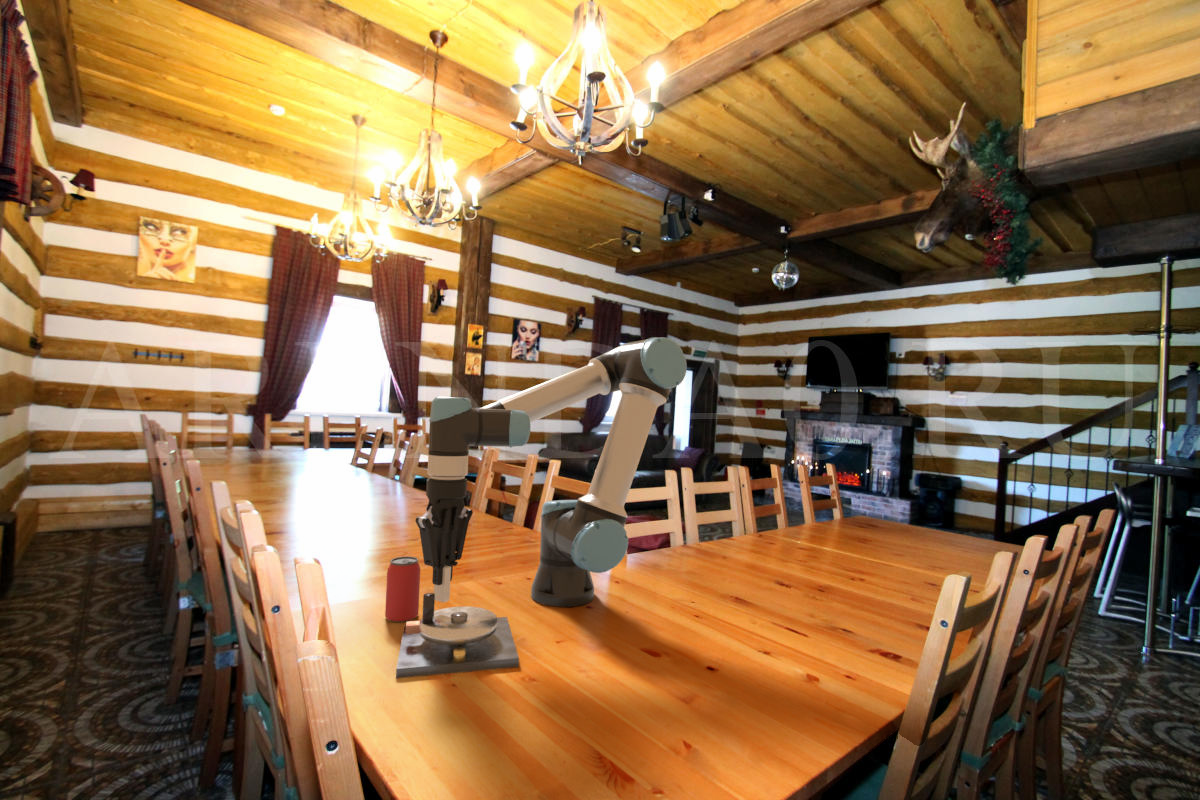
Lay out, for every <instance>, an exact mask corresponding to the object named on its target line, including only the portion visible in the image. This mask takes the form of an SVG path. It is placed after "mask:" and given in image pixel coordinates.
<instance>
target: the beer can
mask: <svg viewBox="0 0 1200 800" xmlns="http://www.w3.org/2000/svg"><path fill="white" fill-rule="evenodd" d="M389 561H390V564H389V566H388V568H387V572H386V592H385V611H384V615H385V618H386V620H387V621H389V622H392V623H405V621H406V622H409V620H410V621H413V620H414V619H416V618H417V617H418V616H419V610H420V609H419V608H420V607H419V605H420V587H421V586H420V583H421V567H420V563H419V559H418V557H415V556H399V557H395V558H392V559H391V560H389Z"/></svg>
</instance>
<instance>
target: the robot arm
mask: <svg viewBox="0 0 1200 800" xmlns="http://www.w3.org/2000/svg"><path fill="white" fill-rule="evenodd" d="M686 359H687V358H686V356H685V355H684V352H683V349H682V348H681V347H680V345H679V344H678V343H677V342H675V341H674V340H672V339H671V338H668V337H657V336H654V337H653V336H652V337H649V338H647V339H642V340H637V341H636V340H635V341H629V342H626V343H623V344H621V345H619V346H617V347H615V348H613V349H611V350H608V351H607V352H605V353H602V354H600V355H597V356H596V357H593V358H591V359H590V360H589V361H588V363H587V364H586V365H584V366H582V367H580V368H577V369H574V370H572V371H570V372H567V373H565V374H561V375H560V376H557V377H555V378H552V379H550V380H547V381H544V382H542V383H540V384H536V385H534V386H532V387H529V388H527V389H524V390H522V391H519V392H517V393H515V394H512V395H509V396H506V397H504V398H502V399H499V400H497V401H495V402H492V403H489V404H487V405H484V406H482V407H481V406H479V407H473V405H472V400H471V399H470V398H469V397H457V396H455V397H454V396H452V397H451V396H437V397H434V398H433V400H431V407H430V414H429V415H430V416H429V419H428V420H429V421H428V422H429V431H428V454H427V455H428V456H427V457H428V458H427V472H426V473H427V475H428V476H430V477H428V478H427V479H426V488H425V489H426V492H425V493H426V494H425V495H426V497H427V499H428V503H427V505H426V510H425V511H426V512H425V513H423V514H422V516H416V518H415V523H416V525H417V527H418V529H419V535H420V543H421V549H422V557H423V563H424V565H425V566H429V567H432V585H433V593H434V594H435V602H441V603H446V602H449V601H450V597H451V596H450V595H451V582H452V580H453V572H454V571H453V568H454V567H456V566H457V565H458V564H459V560H461V559H462V557H463V551H464V547H465V541H466V537H467V532H468V529H469V523H470V520H471V518H472V515H473V512H474V510H473V509H471V508H470V509H469V508H467V507H466V506H465V501H464V498H466V497H467V494H468V493H467V492H468V479H467V478H466V476H468V475H469V452H470V450H469V449H470V447H506V448H507V447H509V448H513V447H523V446H525V445H526V444H527V443H528V442H529V440H530V435H531V423H533V422H536V421H537V420H540V419H542V418H545V417H547V416H549V415H552V414H554V413H557V412H560V411H561V410H563V409H566V408H569V407H570V406H573V405H576V404H577V403H578V404H579V402H580V403H581V402H582V401H585V400H587V399H590V398H592V397H595V396H596V395H602V396H607V395H610V394H612V393H614V392H618V391H620V392H621V397H620V401H619V403H618V405H617V409H616V412H615V414H614V418H613V420H612V423H611V427H610V429H609V432H608V434H607V437H606V440H605V443H604V447H603V449H602V452H601V454H600V457H599V460H598V463H597V465H596V467H595V471H594V474H593V477H592V479H591V482H590V485H589V489H588V490H587V493H586V494H585V495H582V496H581V497H578V499H558V500H548V501H545V502H544V503H543V505H542V507H541V508H542V509H541V514H540V518H541V520H540V522H541V523H540V551H539V552H540V553H539V557H540V558H539V563H538V564H539V565H538V567H537V570H536V573H535V576H534V579H533V581H532V584H531V589H530V591H531V593H530V596H531V597H530V598H531V599H533V601H535V602H537V603H538V604H542V605H545V606H550V607H558V608H560V607H561V608H562V607H563V608H568V607H569V608H570V607H579V606H583V605H585V604H589V603H590V602H592V601H593V600H594V598H595V585H594V581H593V578H592V574H591V573H594V574H601V573H606V572H609V571H610V570H612V569H613V568H614V569H615V567H617V566H618V565H619V564H620V563H621V562H622V560H624V557H625V556H626V553H627V550H628V547H629V536H628V535H627V531H626V529H625V525H626V523H627V520H628V514H627V511H626V510H625V504H626V502H627V499H628V496H629V492H630V489H631V486H632V484H633V480H634V478H635V474H636V472H637V469H638V465H639V463H640V460H641V457H642V454H643V451H644V449H645V447H646V446H645V445H646V442H647V439H648V436H649V434H650V431H651V428H652V425H653V422H654V419H655V416H656V413H657V410H658V408H659V407H660V406H663V405H664V404H666V403H667V400H668V398H669V395H670V393H671V390H672V389H673V388H676V387H677V386H679V385H681V384H682V382H683V381H684V379H685V377H686V374H687V367H688V366H687V365H688V364H687V360H686ZM457 560H458V561H457Z"/></svg>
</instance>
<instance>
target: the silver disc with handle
mask: <svg viewBox="0 0 1200 800" xmlns="http://www.w3.org/2000/svg"><path fill="white" fill-rule="evenodd" d="M435 603H436V600H435V594H434V592H426V593H424V594H423V598H422V618H420V620H410V621H406V623H405V624H406V634H418V633H419V634H420V636H421V637H422V638H423V639H425V640H427V641H429V642H433V643H437V644H445V645H459V644H468V643H473V642H477V641H480V640H483V639H485V638H488V637H489V636H491V635H492V634H493V633H494V632H495V631H496V629H497V614H495V612H493V611H491V610H489V609H487V608H483V607H476V606H451V607H444V608H441V609H436V610H435Z"/></svg>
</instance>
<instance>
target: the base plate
mask: <svg viewBox="0 0 1200 800" xmlns="http://www.w3.org/2000/svg"><path fill="white" fill-rule="evenodd" d="M519 659H520V657H519V654H518V651H517V648H516V643H515V640H514V636H513V634H512V630H511V627H510V623H509V620H508V617H507V616H501V617H500V616H498V617H497V629H496V631H495V632H494V633H493V634H492V635H491V636H489V637H488V638H485V639H483V640H480V641H477V642H473V643H468V644H459V645H445V644H437V643H433V642H429V641H427V640H425V639H423V638H422V637H421V636H420V634H419V633H418V634H406V623H404V626H403V631H402V637H401V642H400V647H399V653H398V658H397V664H396V670H395V679H400V678H401V679H402V678H411V677H412V678H413V677H424V676H431V675H432V676H434V675H444V674H455V673H456V674H457V673H465V672H475V671H488V670H498V669H507V668H508V669H510V668H519V662H520V661H519Z"/></svg>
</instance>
